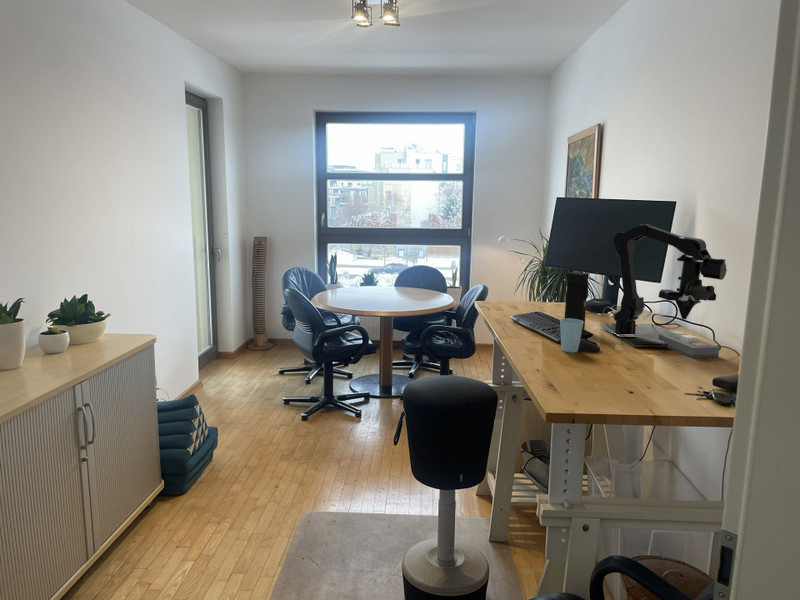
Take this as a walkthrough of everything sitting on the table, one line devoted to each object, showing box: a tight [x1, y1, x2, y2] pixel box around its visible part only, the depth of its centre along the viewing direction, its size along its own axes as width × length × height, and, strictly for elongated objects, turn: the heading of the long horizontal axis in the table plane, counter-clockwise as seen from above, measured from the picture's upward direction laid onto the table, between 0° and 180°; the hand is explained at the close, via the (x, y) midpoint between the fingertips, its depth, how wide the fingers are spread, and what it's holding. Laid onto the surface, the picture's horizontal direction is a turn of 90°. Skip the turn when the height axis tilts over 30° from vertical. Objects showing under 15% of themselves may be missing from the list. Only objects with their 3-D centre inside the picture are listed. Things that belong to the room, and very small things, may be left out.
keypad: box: [658, 333, 720, 359], centre depth 201 cm, size 10×18×4 cm, turn 12°
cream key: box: [680, 334, 698, 342], centre depth 201 cm, size 4×4×2 cm
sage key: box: [669, 330, 687, 338], centre depth 206 cm, size 4×4×2 cm
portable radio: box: [563, 265, 590, 331], centre depth 226 cm, size 8×6×25 cm
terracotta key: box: [691, 343, 707, 347], centre depth 196 cm, size 4×4×2 cm
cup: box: [559, 318, 584, 353], centre depth 197 cm, size 8×8×10 cm
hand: (683, 319), depth 203 cm, fingers closed
